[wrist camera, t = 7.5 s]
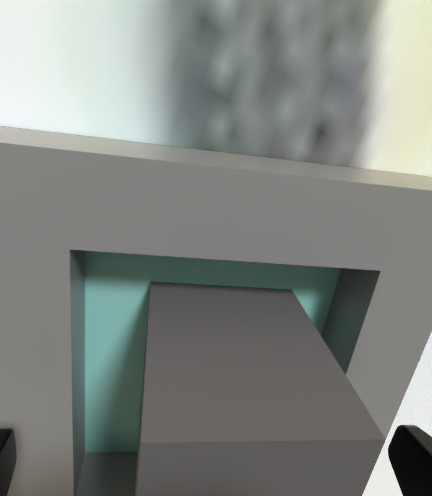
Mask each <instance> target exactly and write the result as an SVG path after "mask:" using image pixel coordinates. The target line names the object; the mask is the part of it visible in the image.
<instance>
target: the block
mask: <svg viewBox="0 0 432 496" xmlns="http://www.w3.org/2000/svg"><path fill="white" fill-rule="evenodd" d="M385 440H386V439H385V437H384V436H383V434H382V432H381V431H380V429H379V428H378V426H377V424H376V423H375V421H374V420H373V418H372V416H371V415H370V413H369V412H368V410H367V408H366V407H365V405H364V404H363V402H362V401H361V399H360V397H359V396H358V394H357V393H356V391H355V389H354V388H353V386H352V385H351V383H350V381H349V380H348V378H347V377H346V375H345V373H344V372H343V370H342V369H341V367H340V366H339V364H338V362H337V361H336V359H335V358H334V356H333V354H332V353H331V351H330V350H329V348H328V346H327V345H326V343H325V342H324V340H323V338H322V337H321V335H320V334H319V332H318V330H317V329H316V327H315V326H314V324H313V323H312V321H311V319H310V318H309V316H308V315H307V313H306V311H305V310H304V308H303V307H302V305H301V303H300V302H299V300H298V299H297V297H296V295H295V294H294V292H293V291H292V289H275V288H257V287H240V286H223V285H206V284H188V283H171V282H154V281H151V282H150V295H149V308H148V320H147V333H146V346H145V358H144V371H143V384H142V397H141V409H140V423H139V437H138V452H137V467H136V481H135V496H362V494H363V492H364V489H365V487H366V485H367V482H368V480H369V478H370V475H371V473H372V471H373V468H374V466H375V463H376V461H377V459H378V456H379V454H380V452H381V449H382V447H383V445H384V442H385Z"/></svg>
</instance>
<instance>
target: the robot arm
mask: <svg viewBox="0 0 432 496" xmlns="http://www.w3.org/2000/svg"><path fill="white" fill-rule="evenodd" d="M388 455H389V459H390V462H391V465H392V467H393V470H394V473H395V475H396V478H397V481H398V483H399V486H400V489H401V491H402V494H403V496H432V437H431V436H430V435H428V434H427V433H426V432H424V431H423V430H421V429H420V428H419V427H417V426H415V425H400V426H398V427H397V429H396V431H395V433H394V436H393V438H392V440H391V443H390V445H389V448H388ZM16 460H17V452H16V441H15V432H14V430H13V429H12V428H0V496H7V494H8V491H9V487H10V484H11V480H12V477H13V473H14V469H15V466H16Z"/></svg>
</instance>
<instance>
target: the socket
mask: <svg viewBox="0 0 432 496" xmlns="http://www.w3.org/2000/svg"><path fill="white" fill-rule="evenodd" d="M151 281H154V282H171V283H188V284H206V285H223V286H240V287H257V288H275V289H292V291H293V292H294V294H295V295H296V297H297V299H298V300H299V302H300V303H301V305H302V307H303V308H304V310H305V311H306V313H307V315H308V316H309V318H310V319H311V321H312V323H313V324H314V326H315V327H316V329H317V330H318V332H319V334H320V335H321V337H322V338H323V340H324V342H325V343H326V345H327V346H328V348H329V350H330V351H331V353H332V354H333V356H334V358H335V359H336V361H337V362H338V364H339V366H340V367H341V369H342V370H343V372H344V373H345V375H346V377H347V378H348V380H349V381H350V383H351V385H352V386H353V388H354V389H355V391H356V393H357V394H358V396H359V397H360V399H361V401H362V402H363V404H364V405H365V407H366V408H367V410H368V412H369V413H370V415H371V416H372V418H373V420H374V421H375V423H376V424H377V426H378V428H379V429H380V431H381V432H382V434H383V436H384V437H385V439H386V437H387V435H388V433H389V430H390V428H391V426H392V423H393V421H394V419H395V416H396V414H397V412H398V409H399V407H400V404H401V402H402V400H403V397H404V395H405V393H406V390H407V388H408V386H409V383H410V381H411V378H412V376H413V374H414V371H415V369H416V367H417V364H418V362H419V360H420V357H421V355H422V352H423V350H424V348H425V345H426V343H427V341H428V338H429V336H430V334H431V331H432V177H427V176H419V175H411V174H402V173H394V172H385V171H377V170H368V169H360V168H351V167H343V166H334V165H326V164H318V163H309V162H301V161H292V160H284V159H275V158H267V157H258V156H250V155H242V154H233V153H225V152H216V151H208V150H199V149H191V148H182V147H174V146H165V145H157V144H149V143H140V142H132V141H123V140H115V139H106V138H98V137H89V136H81V135H72V134H64V133H56V132H47V131H39V130H30V129H22V128H13V127H5V126H0V428H12V429H13V430H14V432H15V441H16V452H17V460H16V466H15V469H14V473H13V477H12V480H11V484H10V487H9V491H8V494H7V496H135V481H136V467H137V452H138V437H139V423H140V409H141V397H142V384H143V371H144V358H145V346H146V333H147V320H148V308H149V295H150V282H151Z"/></svg>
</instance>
